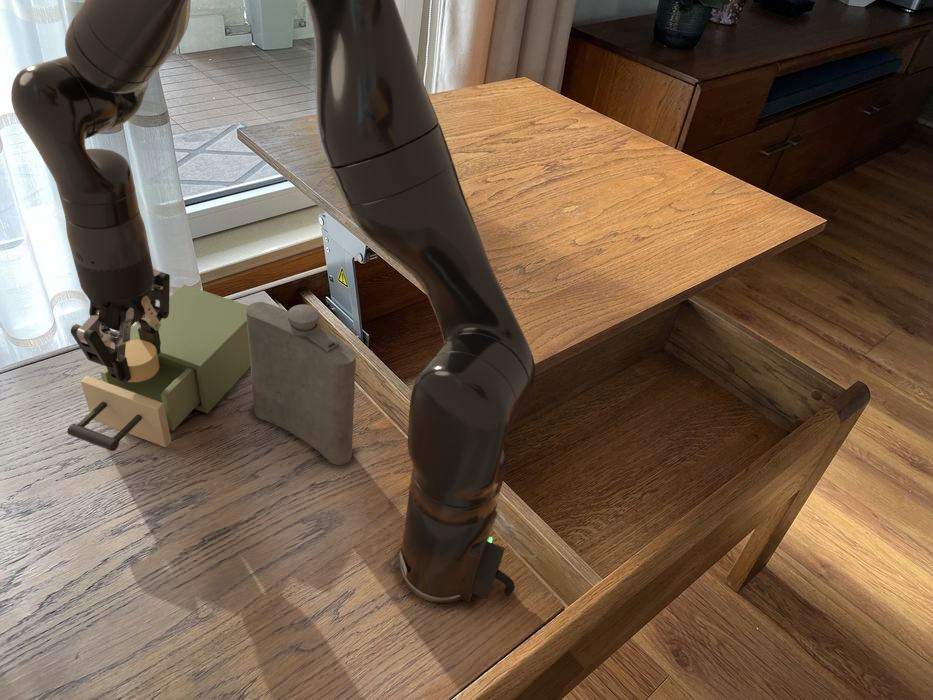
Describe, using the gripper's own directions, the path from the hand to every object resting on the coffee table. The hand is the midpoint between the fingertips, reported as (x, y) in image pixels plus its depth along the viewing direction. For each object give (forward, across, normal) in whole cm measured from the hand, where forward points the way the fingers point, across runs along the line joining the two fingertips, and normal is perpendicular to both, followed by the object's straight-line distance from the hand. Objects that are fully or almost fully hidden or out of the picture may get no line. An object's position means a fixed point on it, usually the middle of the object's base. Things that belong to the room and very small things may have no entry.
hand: (137, 365), depth 88 cm
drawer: (+9, 0, 0) cm, 9 cm away
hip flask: (+10, +7, -19) cm, 22 cm away
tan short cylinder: (+1, 0, 0) cm, 1 cm away
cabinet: (+10, +11, 0) cm, 14 cm away
